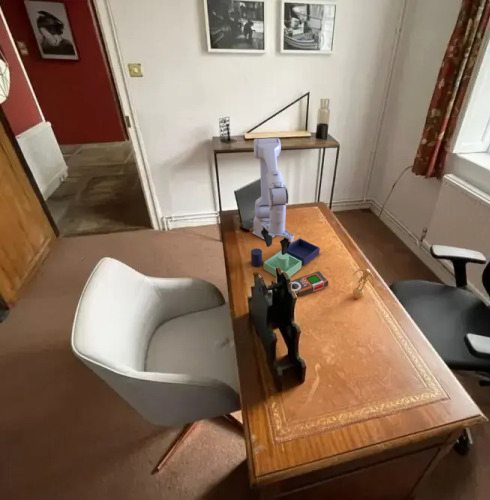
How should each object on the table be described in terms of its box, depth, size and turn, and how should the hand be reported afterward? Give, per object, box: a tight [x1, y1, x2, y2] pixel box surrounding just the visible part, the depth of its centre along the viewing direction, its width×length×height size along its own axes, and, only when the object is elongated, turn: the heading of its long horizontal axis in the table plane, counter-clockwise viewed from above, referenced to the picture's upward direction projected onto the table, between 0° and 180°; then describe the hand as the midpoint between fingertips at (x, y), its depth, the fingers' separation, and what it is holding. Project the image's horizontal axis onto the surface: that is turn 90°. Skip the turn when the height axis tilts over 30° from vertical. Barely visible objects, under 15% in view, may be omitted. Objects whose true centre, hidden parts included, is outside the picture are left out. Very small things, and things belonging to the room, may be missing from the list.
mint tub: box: [263, 250, 303, 278], centre depth 126 cm, size 11×11×4 cm
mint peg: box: [277, 253, 289, 271], centre depth 124 cm, size 4×4×6 cm
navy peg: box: [250, 247, 263, 268], centre depth 127 cm, size 4×4×6 cm
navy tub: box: [287, 237, 321, 267], centre depth 133 cm, size 11×11×4 cm
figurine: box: [352, 268, 375, 300], centre depth 112 cm, size 8×6×12 cm
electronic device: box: [290, 270, 329, 297], centre depth 118 cm, size 7×3×15 cm
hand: (276, 249), depth 122 cm, fingers open, 7 cm apart
